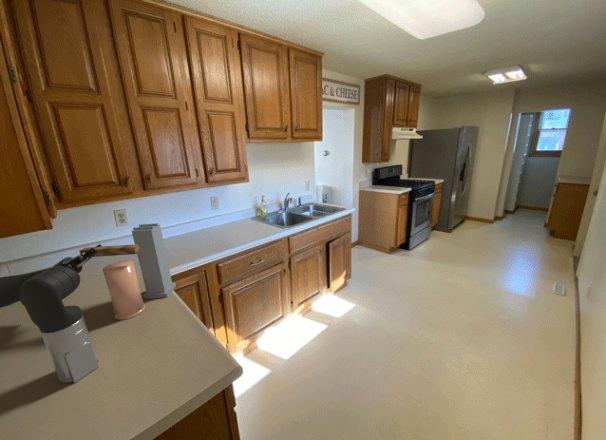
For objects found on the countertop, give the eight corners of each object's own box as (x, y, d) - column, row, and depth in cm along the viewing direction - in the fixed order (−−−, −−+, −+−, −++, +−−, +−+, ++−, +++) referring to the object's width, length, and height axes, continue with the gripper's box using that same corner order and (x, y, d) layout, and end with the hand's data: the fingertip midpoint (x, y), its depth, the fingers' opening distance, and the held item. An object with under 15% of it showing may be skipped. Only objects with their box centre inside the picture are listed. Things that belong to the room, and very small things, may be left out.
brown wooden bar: (140, 251, 102) (138, 244, 101) (135, 254, 99) (134, 247, 98) (87, 254, 100) (84, 247, 99) (81, 257, 97) (79, 250, 96)
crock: (150, 307, 109) (140, 262, 103) (125, 322, 99) (111, 274, 94) (135, 301, 113) (124, 258, 107) (109, 316, 104) (95, 269, 98)
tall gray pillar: (175, 285, 125) (162, 221, 116) (167, 297, 116) (152, 228, 107) (154, 287, 125) (140, 223, 116) (144, 299, 115) (127, 229, 106)
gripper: (84, 270, 107) (116, 248, 106) (56, 287, 94) (92, 263, 93) (70, 256, 105) (103, 234, 104) (39, 272, 92) (76, 247, 91)
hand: (98, 248), depth 98 cm, fingers closed on brown wooden bar, 3 cm apart
